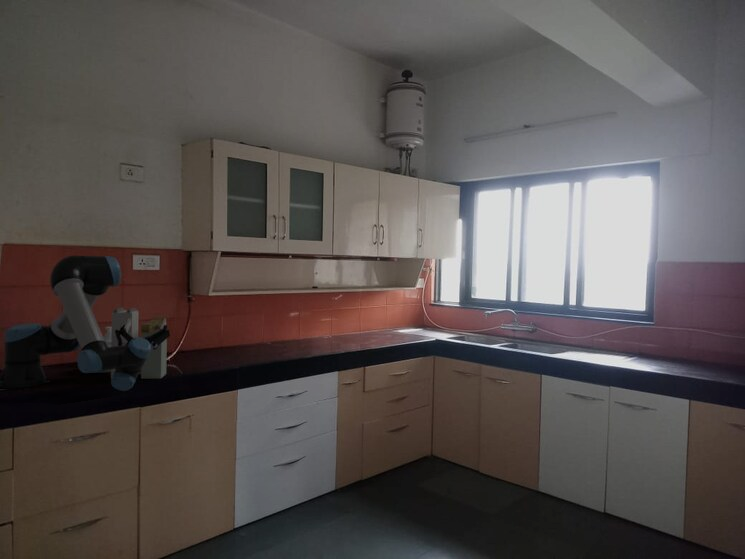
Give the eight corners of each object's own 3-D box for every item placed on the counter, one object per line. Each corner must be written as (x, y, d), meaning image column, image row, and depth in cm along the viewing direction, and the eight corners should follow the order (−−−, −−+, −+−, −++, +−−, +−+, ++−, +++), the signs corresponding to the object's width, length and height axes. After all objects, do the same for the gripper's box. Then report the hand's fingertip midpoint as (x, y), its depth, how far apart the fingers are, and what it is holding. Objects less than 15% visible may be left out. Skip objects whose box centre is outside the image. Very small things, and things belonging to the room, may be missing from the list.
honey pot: (110, 368, 230) (111, 329, 230) (89, 365, 234) (89, 327, 234) (132, 362, 242) (133, 326, 242) (111, 360, 247) (112, 324, 246)
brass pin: (139, 334, 203) (139, 323, 203) (155, 326, 226) (155, 316, 225) (151, 334, 203) (151, 323, 203) (165, 326, 226) (165, 316, 226)
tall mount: (110, 378, 210) (111, 309, 209) (118, 373, 219) (119, 307, 218) (131, 378, 212) (132, 309, 211) (137, 373, 220) (138, 307, 219)
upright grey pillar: (141, 378, 212) (141, 325, 211) (147, 373, 221) (148, 323, 220) (160, 378, 213) (161, 326, 213) (166, 373, 222) (167, 323, 222)
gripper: (99, 363, 187) (116, 328, 205) (169, 363, 191) (180, 328, 209) (95, 347, 183) (113, 313, 201) (167, 347, 187) (178, 314, 205)
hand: (147, 321), depth 205 cm, fingers open, 13 cm apart
